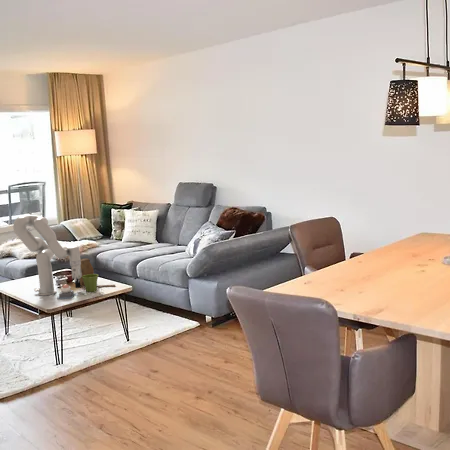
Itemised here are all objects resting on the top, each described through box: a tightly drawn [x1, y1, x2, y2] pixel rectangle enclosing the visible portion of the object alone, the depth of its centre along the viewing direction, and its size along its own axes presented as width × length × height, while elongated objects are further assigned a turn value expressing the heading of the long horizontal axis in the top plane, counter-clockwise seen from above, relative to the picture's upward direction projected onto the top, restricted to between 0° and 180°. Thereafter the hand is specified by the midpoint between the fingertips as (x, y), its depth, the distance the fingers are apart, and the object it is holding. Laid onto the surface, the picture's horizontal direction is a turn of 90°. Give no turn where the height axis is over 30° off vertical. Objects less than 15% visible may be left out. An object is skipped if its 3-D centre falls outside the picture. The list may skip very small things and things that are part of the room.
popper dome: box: [60, 283, 72, 293], centre depth 381 cm, size 6×6×8 cm
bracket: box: [97, 284, 116, 288], centre depth 404 cm, size 15×3×1 cm, turn 91°
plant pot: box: [82, 273, 99, 293], centre depth 394 cm, size 12×12×11 cm
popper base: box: [57, 289, 76, 300], centre depth 382 cm, size 10×10×4 cm
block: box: [80, 258, 95, 287], centre depth 412 cm, size 11×8×20 cm
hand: (78, 287), depth 394 cm, fingers closed
